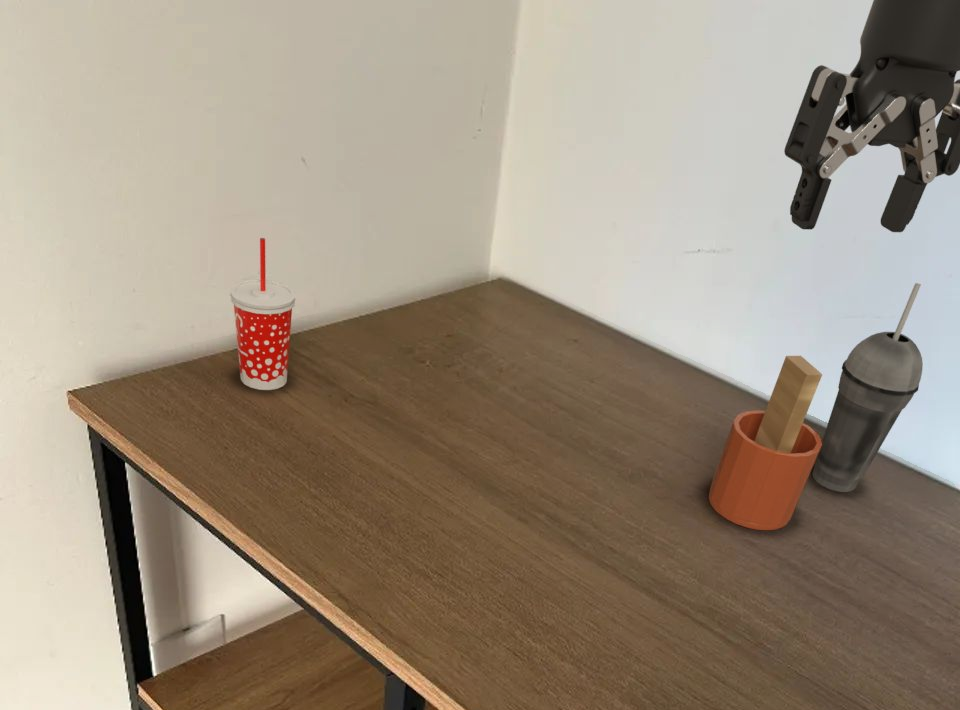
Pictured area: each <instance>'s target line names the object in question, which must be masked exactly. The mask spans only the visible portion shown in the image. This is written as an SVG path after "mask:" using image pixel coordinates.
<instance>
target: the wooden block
mask: <svg viewBox="0 0 960 710" xmlns="http://www.w3.org/2000/svg"><path fill="white" fill-rule="evenodd" d="M778 373H779V374H778V376H777V379H776V381H775V384H774V387H773V389H772V392H771V395H770V398H769V400H768V403H767V405H766V409H765V410H764V411H765V414H764V416H763V419H762V422H761V424H760V427H759V430H758V433H757V435H756V438H755V441H754V442H756V443H757V444H759V445H761V446H764V447H766V448H769V449H772V450H775V451H779V452H785V453H791V451H792V448H793V446H794V443H795V441H796V439H797V436H798V434H799V431H800V429H801V426H802V424H803V423H804V421H805V419H806V416H807V413H808V411H809V410H810V406H811V404H812V401H813V399H814V397H815V394H816V391H817V389H818V387H819V384H820V381H821V379H822V377H823V373H821V372H820V371H819V370H818V369H817V368H816V367H815V366H814V365H813V364H811V363H810V362H809V361H808V360H807V359H805V358H804V356H802V355H786V356H785V358H784V360H783V363H782V365H781V368H780V371H779V372H778Z"/></svg>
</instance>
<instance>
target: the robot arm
mask: <svg viewBox="0 0 960 710" xmlns="http://www.w3.org/2000/svg"><path fill="white" fill-rule="evenodd" d="M859 44H860V55H859V59H858V60H857V64H856V65H855V66H854V68H853V70H852V71H851V72H850V73H849V74H848V73H844V72H838V71H836V70H835V69H832V68H830V67H828V66H826V65H823V64H821V65H818V66H817V67H815V69H814V70H813V71H812V73H811V76H810V79H809V81H808V83H807V87H806V89H805V92H804V96H803V98H802V100H801V103H800V106H799V108H798V112H797V114H796V116H795V120H794V122H793V125H792V128H791V130H790V133H789V136H788V138H787V141H786V143H785V147H784V151H783V152H784V155H785V156H786V157H787V158H789V159H790V160H792V161H793V162H795V163H797V164H798V165H799V166H800V167H801V174H800V177H799V180H798V183H797V186H796V189H795V192H794V195H793V197H792V200H791V204H790V207H789V215H790V216H791V222H792V223H793V224H794V225H796V226H797V227H799V228H800V229H802V230H813V229H815V227H816V224H817V222H818V219H819V216H820V214H821V212H822V209H823V205H824V204H825V203H824V202H825V199H826V197H827V195H828V191H829V188H830V185H831V183H832V179H831V178H830V177H831V176H832V175H833V174H834V172H836V170H838V168H840V167H841V166H842V164H843V163H845V161H846V160H847V159H848V158H850V157H854V156H857V155H858V154H859V153H861V152H862V150H863V149H864V148H866V146H867V145H868V146H871V147H881V146H885V145H891V146H892V147H894V148H897V149H898V150H899V152H900V159H901V164H902V170H903V173H904V174H898V175H897V176H896V179H895V181H894V185H893V187H892V189H891V192H890V194H889V197H888V199H887V202H886V204H885V206H884V209H883V212H882V214H881V217H880V226H882V228H885V229H887V230H888V231H890V232H891V233H902V232H904V231H905V230H906V228H907V226H908V225H909V224H910V223H911V221H912V220H913V218H914V216H915V213H916V210H917V209H918V206H919V204H920V202H921V200H922V196H923V195H924V192H925V190H926V187H927V185H928V184H930V183H932V182H933V181H934V180H935V178H937V177H939V176H943V175H946V176H949V177H950V176H952V175H954V174H955V173H956V172H957V171H958V169H959V167H960V78H959V79H956V75H957V72H960V0H872V4H871V6H870V10H869V12H868V16H867V18H866V21H865V24H864V27H863V29H862V33H861V36H860V39H859ZM844 104H845V105H844ZM843 105H844V106H843ZM841 106H843V107H842V108H841V109H840V110H839V111H838V112H837V109H838V107H841ZM836 112H837V113H836ZM940 113H941V114H940ZM939 114H940V116H939V120H938V122H937V125H936V119H935V118H937V116H938V115H939ZM848 128H850V131H851V132H848V131H846V130H847V129H848ZM949 141H950V142H949ZM948 144H949V146H948ZM947 147H948V148H947ZM946 149H947V152H946ZM945 152H946V153H945Z"/></svg>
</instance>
